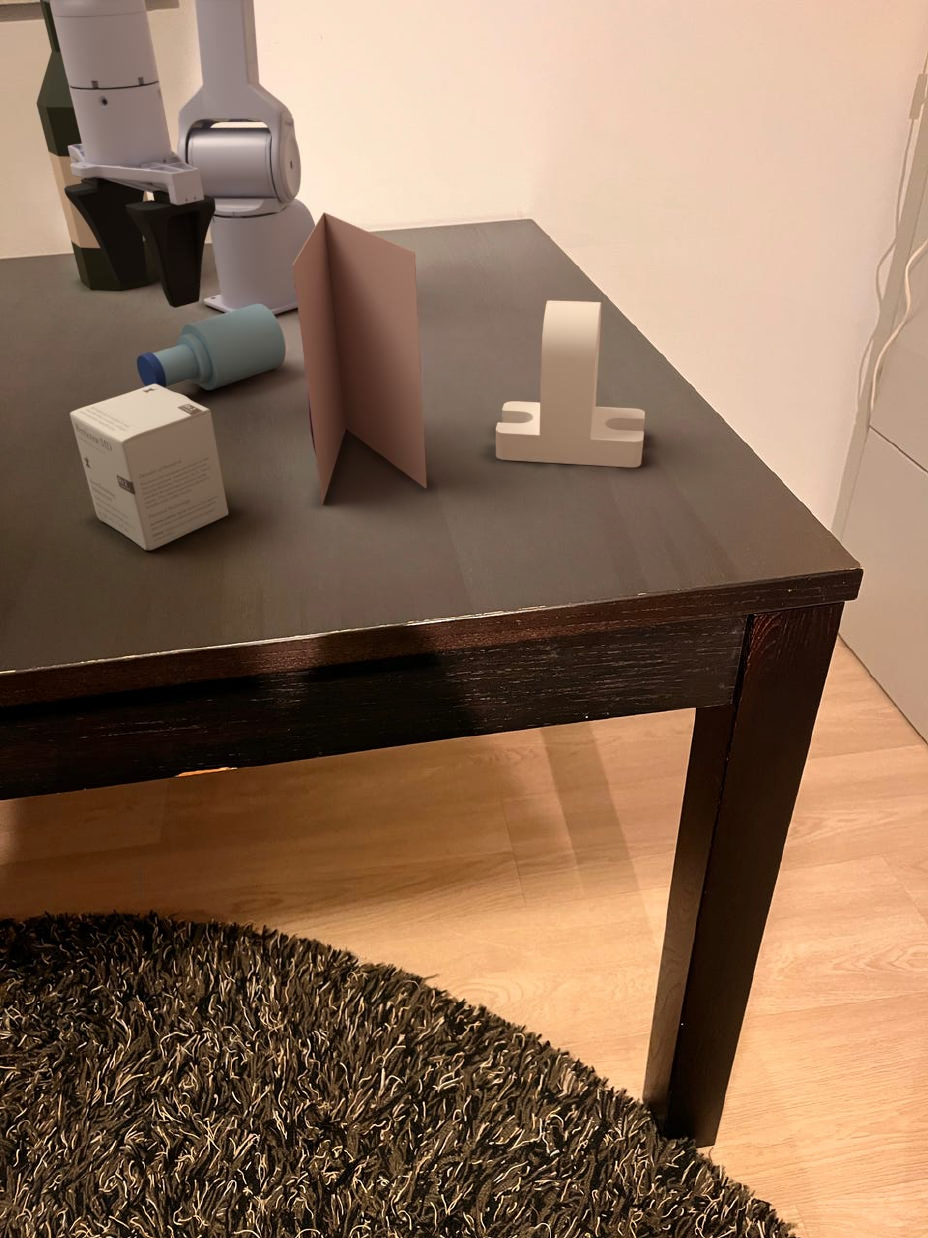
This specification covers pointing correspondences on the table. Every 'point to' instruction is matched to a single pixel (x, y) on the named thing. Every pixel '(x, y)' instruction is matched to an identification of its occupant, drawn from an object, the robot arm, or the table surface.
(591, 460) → the white mounting bracket
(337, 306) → the greeting card
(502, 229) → the table surface
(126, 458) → the product carton
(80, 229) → the wine bottle
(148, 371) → the bottle
